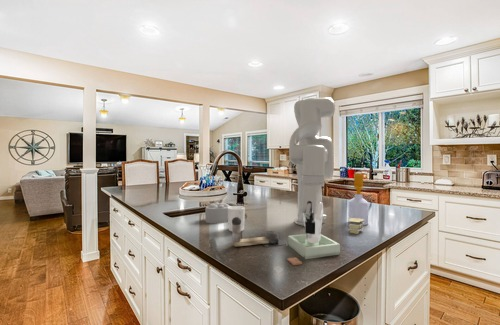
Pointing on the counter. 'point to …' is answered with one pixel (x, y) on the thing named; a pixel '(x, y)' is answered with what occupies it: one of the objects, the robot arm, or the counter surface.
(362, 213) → the soap bottle
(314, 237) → the beer glass
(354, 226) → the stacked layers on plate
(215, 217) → the grey bumpy block
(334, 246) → the tray
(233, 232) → the crank lever
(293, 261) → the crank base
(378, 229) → the counter surface
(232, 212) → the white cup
